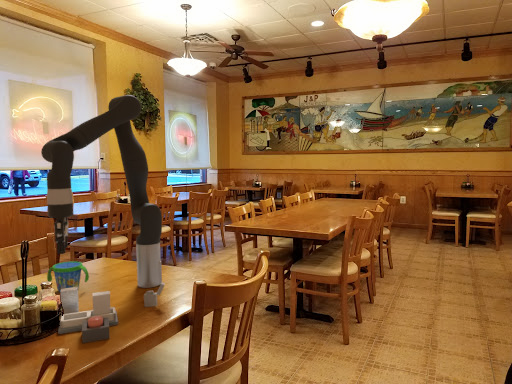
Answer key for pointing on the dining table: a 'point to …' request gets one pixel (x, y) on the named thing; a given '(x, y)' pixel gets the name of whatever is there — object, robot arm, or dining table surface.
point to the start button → (95, 321)
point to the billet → (70, 300)
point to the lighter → (152, 296)
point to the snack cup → (67, 274)
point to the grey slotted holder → (89, 314)
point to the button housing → (95, 332)
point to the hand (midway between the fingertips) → (62, 250)
